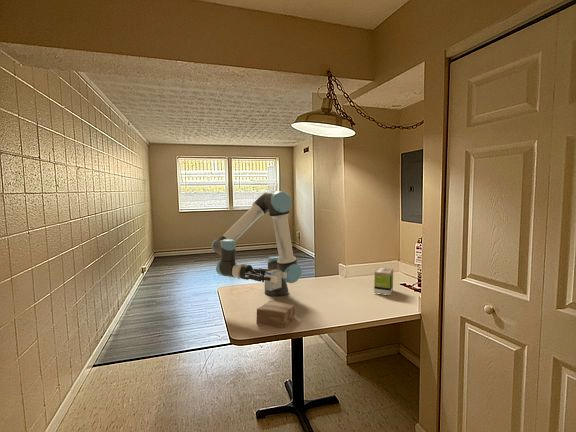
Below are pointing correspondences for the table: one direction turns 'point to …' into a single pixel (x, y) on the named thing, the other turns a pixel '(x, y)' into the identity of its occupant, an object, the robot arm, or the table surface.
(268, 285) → the medicine box
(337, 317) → the table surface
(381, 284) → the tea box
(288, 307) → the walnut block
